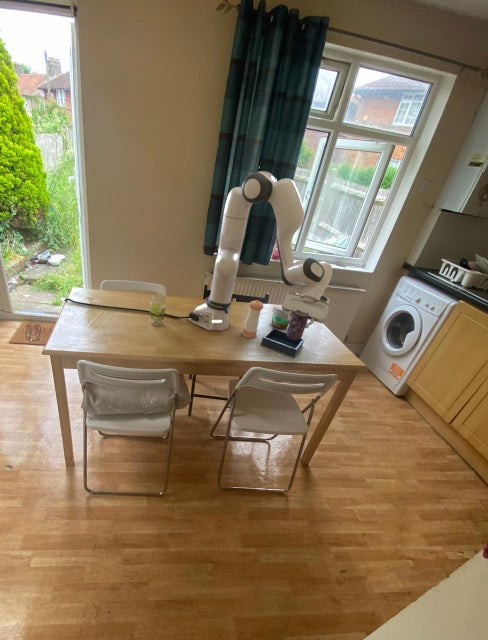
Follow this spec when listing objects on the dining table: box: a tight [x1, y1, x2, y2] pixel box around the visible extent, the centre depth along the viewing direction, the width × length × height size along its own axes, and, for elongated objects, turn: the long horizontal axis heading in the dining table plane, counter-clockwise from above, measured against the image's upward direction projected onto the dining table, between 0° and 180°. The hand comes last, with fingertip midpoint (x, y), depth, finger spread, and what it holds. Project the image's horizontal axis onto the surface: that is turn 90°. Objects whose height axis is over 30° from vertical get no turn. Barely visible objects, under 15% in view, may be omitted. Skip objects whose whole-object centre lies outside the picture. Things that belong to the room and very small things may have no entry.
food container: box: [270, 306, 293, 331], centre depth 184 cm, size 12×6×10 cm, turn 62°
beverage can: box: [285, 310, 309, 340], centre depth 150 cm, size 7×7×12 cm
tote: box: [260, 327, 306, 358], centre depth 170 cm, size 18×15×4 cm
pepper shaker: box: [241, 299, 264, 339], centre depth 170 cm, size 7×7×19 cm
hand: (297, 324), depth 149 cm, fingers closed on beverage can, 7 cm apart
